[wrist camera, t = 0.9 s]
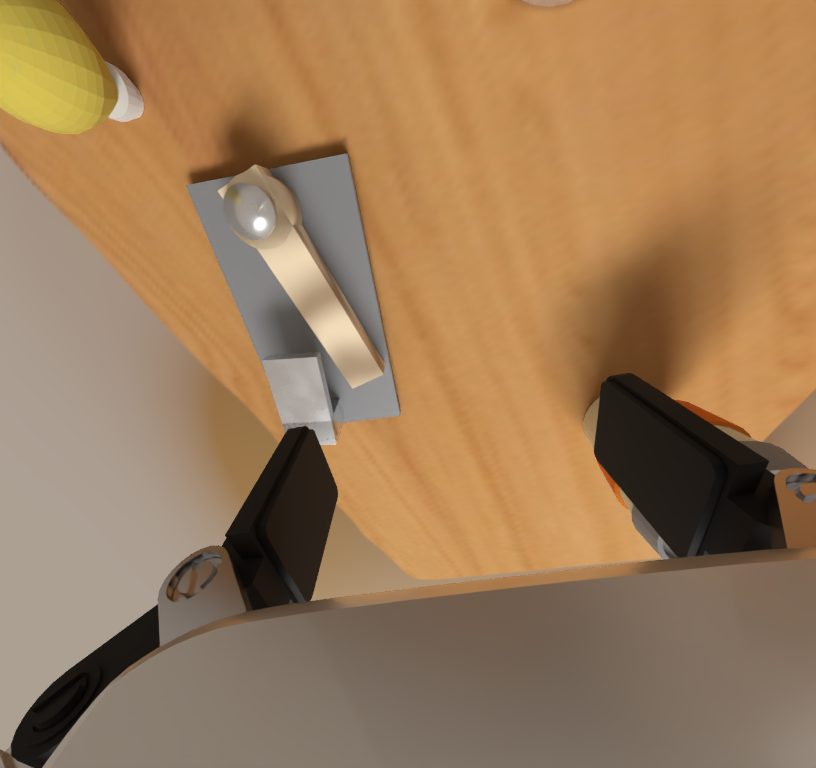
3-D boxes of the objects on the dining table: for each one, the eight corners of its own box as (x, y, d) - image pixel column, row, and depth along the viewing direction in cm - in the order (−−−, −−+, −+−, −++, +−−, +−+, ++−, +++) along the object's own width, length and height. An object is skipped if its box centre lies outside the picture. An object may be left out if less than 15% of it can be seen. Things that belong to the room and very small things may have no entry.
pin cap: (224, 189, 22) (214, 187, 21) (270, 180, 22) (263, 177, 21) (244, 242, 24) (235, 243, 23) (287, 234, 24) (281, 235, 23)
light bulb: (180, 162, 25) (56, 131, 16) (93, 143, 24) (-86, 100, 16) (165, 49, 22) (0, -67, 13) (64, 24, 21) (-181, -114, 12)
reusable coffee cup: (641, 348, 33) (800, 436, 19) (697, 411, 36) (861, 521, 23) (546, 421, 37) (622, 533, 24) (604, 471, 41) (697, 590, 28)
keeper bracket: (279, 343, 31) (261, 360, 27) (327, 339, 31) (316, 357, 27) (302, 422, 36) (289, 446, 32) (344, 420, 36) (336, 444, 32)
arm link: (225, 197, 25) (208, 195, 23) (276, 162, 24) (262, 156, 22) (349, 380, 33) (345, 391, 31) (391, 361, 32) (390, 371, 30)
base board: (193, 186, 26) (185, 185, 25) (348, 155, 25) (346, 153, 24) (292, 424, 37) (289, 429, 37) (400, 410, 36) (400, 415, 36)
